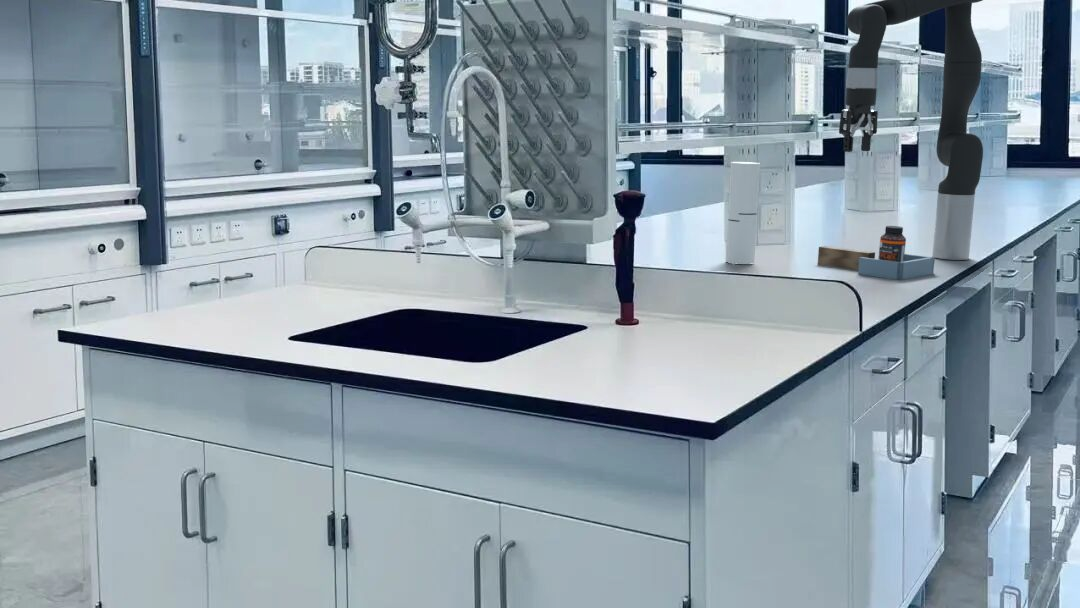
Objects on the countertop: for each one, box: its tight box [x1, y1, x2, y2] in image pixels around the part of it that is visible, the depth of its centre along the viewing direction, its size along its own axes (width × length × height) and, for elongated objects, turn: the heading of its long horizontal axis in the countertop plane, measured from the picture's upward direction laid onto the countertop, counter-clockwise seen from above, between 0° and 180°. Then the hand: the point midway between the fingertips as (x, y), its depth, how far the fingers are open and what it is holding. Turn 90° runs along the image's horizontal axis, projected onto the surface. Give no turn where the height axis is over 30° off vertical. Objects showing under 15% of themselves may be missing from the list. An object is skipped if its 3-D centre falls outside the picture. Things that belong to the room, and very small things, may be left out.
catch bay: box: [857, 253, 936, 281], centre depth 269 cm, size 11×16×4 cm
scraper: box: [817, 245, 876, 271], centre depth 278 cm, size 16×10×4 cm, turn 44°
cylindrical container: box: [725, 161, 761, 264], centre depth 279 cm, size 7×7×25 cm
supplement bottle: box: [877, 225, 907, 262], centre depth 269 cm, size 6×6×11 cm
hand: (856, 151), depth 286 cm, fingers open, 8 cm apart
